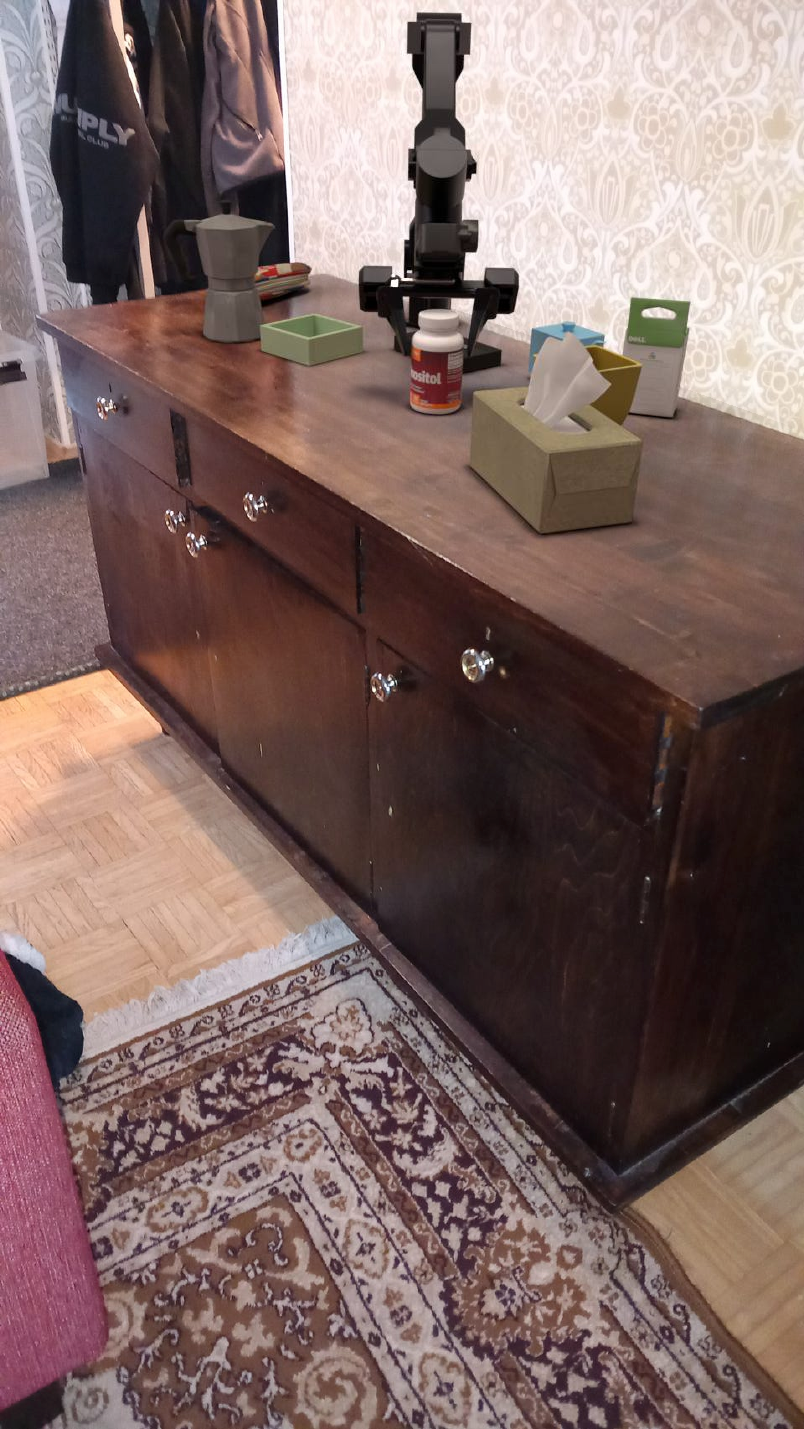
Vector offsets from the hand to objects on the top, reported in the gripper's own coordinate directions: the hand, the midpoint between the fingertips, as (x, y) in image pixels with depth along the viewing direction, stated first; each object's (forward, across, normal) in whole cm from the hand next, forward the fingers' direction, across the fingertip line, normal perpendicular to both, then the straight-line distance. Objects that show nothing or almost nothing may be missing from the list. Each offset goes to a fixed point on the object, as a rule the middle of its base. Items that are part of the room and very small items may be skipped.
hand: (437, 355), depth 125 cm
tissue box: (+23, +11, -13) cm, 28 cm away
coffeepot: (-19, -30, +28) cm, 45 cm away
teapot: (-4, +17, +13) cm, 22 cm away
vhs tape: (-12, +2, +21) cm, 24 cm away
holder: (-13, -17, +22) cm, 31 cm away
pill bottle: (+4, 0, +6) cm, 7 cm away
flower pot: (+11, +16, -2) cm, 20 cm away
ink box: (+4, +26, +6) cm, 27 cm away
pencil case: (-35, -26, +44) cm, 62 cm away
